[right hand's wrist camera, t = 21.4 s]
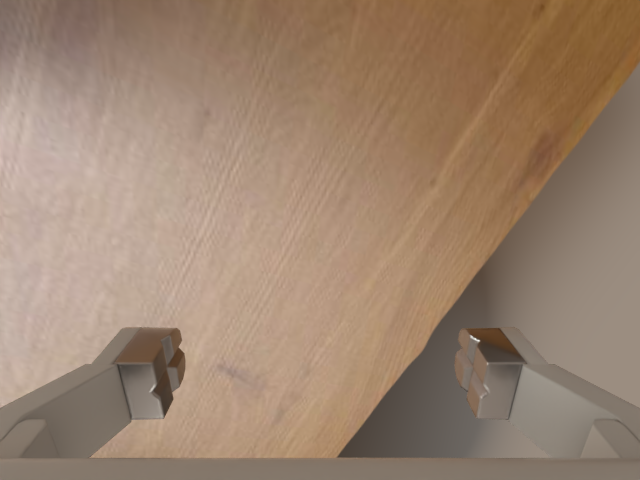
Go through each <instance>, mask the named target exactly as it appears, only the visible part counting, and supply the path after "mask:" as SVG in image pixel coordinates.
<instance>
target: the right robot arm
mask: <svg viewBox="0 0 640 480" xmlns="http://www.w3.org/2000/svg"><path fill="white" fill-rule="evenodd" d="M181 341H182V338H181V333H180V330H179V329H177V328H149V327H143V328H142V327H126V328H123V329H121V330H120V332H119V333H118V334H117V335H116V336H115V337H114V339H113V340H112V341H111V342H110V343H109V344H108V345H107V347H106V348H105V349H104V350H103V351H102V352H101V354H100V355H99V356H98V357H97V358H96V359H95V360H94V362H93V363H92V364H85V365H83V366H81V367H79V368H77V369H75V370H73V371H72V372H70V373H68V374H66V375H64V376H62V377H60V378H58V379H56V380H54V381H52V382H50V383H48V384H46V385H44V386H42V387H40V388H38V389H36V390H34V391H33V392H31V393H29V394H27V395H25V396H23V397H21V398H19V399H17V400H15V401H13V402H11V403H9V404H7V405H5V406H3V407H1V408H0V480H640V408H638V407H636V406H635V405H633V404H631V403H629V402H627V401H625V400H623V399H621V398H619V397H617V396H615V395H613V394H611V393H609V392H607V391H605V390H603V389H601V388H600V387H598V386H596V385H594V384H592V383H590V382H588V381H586V380H584V379H582V378H580V377H578V376H576V375H574V374H572V373H570V372H568V371H566V370H565V369H563V368H561V367H559V366H557V365H555V364H548V363H547V362H546V361H545V359H544V358H543V357H542V356H541V355H540V354H539V352H538V351H537V350H536V349H535V348H534V347H533V345H532V344H531V343H530V342H529V341H528V340H527V339H526V337H525V336H524V335H523V334H522V333H521V332H520V330H519V329H517V328H515V327H501V328H463V329H461V331H460V333H459V338H458V341H459V343H460V345H461V347H462V348H461V349H460V350H459V351H458V352H457V353H456V356H455V373H456V377H457V380H458V382H459V384H460V386H461V387H462V388H463V389H464V390H466V391H467V392H468V394H467V401H468V403H469V405H470V407H471V409H472V411H473V413H474V415H475V417H476V419H499V420H509V422H510V423H511V424H512V425H513V426H515V427H516V428H517V429H518V430H519V431H520V432H522V433H523V434H524V435H525V436H526V437H527V438H529V439H530V440H531V441H532V442H533V443H535V444H536V445H537V446H538V447H539V448H540V449H542V450H543V451H544V452H545V453H546V454H547V455H549V456H550V457H551V458H89V457H90V456H92V455H93V454H94V453H95V452H96V451H97V450H99V449H100V448H101V447H102V446H103V445H104V444H106V443H107V442H108V441H109V440H110V439H111V438H113V437H114V436H115V435H116V434H117V433H119V432H120V431H121V430H122V429H123V428H124V427H126V426H127V425H128V424H129V423H130V422H131V420H140V419H164V417H165V415H166V413H167V411H168V409H169V407H170V405H171V403H172V401H173V394H172V392H173V391H174V390H176V389H177V388H178V387H180V384H181V382H182V380H183V377H184V372H185V355H184V353H183V352H182V351H181V350H180V349H179V348H178V347H179V345H180V343H181Z"/></svg>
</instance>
